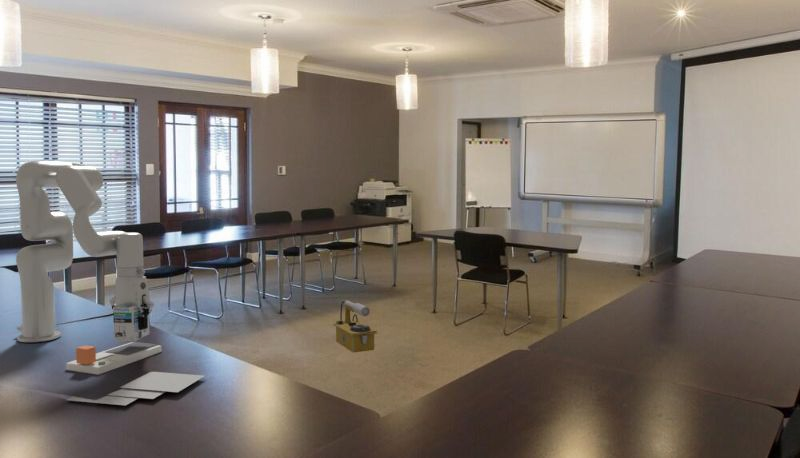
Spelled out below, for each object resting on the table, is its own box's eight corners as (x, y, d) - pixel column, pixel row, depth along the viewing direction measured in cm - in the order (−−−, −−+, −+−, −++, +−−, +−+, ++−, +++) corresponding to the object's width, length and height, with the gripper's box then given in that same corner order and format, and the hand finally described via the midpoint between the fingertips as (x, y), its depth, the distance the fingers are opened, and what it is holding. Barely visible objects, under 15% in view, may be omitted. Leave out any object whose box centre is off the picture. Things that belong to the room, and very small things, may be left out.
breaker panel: (66, 369, 175) (65, 360, 175) (132, 348, 198) (131, 340, 198) (98, 374, 171) (97, 365, 170) (161, 351, 194) (161, 343, 194)
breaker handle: (76, 363, 173) (76, 347, 173) (85, 360, 176) (84, 345, 176) (87, 364, 172) (86, 349, 172) (95, 361, 175) (95, 346, 174)
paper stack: (156, 408, 147) (156, 405, 147) (65, 400, 151) (65, 397, 151) (205, 378, 170) (205, 375, 169) (125, 371, 174) (125, 369, 174)
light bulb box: (134, 342, 185) (133, 307, 184) (113, 341, 185) (112, 306, 184) (150, 333, 195) (149, 300, 194) (129, 333, 195) (128, 300, 195)
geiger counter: (352, 354, 193) (352, 308, 192) (324, 336, 216) (324, 294, 215) (378, 351, 197) (378, 305, 196) (348, 333, 220) (348, 292, 219)
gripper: (161, 272, 189) (163, 327, 190) (118, 269, 195) (119, 323, 196) (143, 275, 182) (145, 333, 183) (99, 272, 188) (101, 328, 189)
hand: (132, 327), depth 190 cm, fingers closed on light bulb box, 8 cm apart
